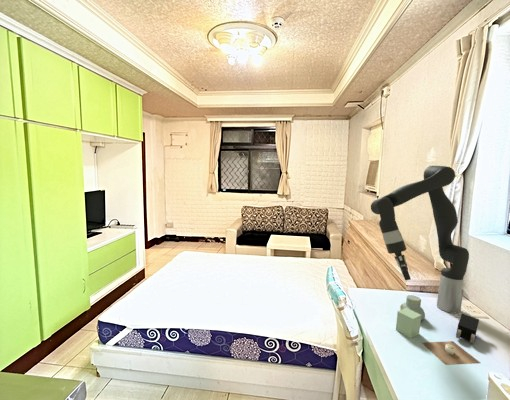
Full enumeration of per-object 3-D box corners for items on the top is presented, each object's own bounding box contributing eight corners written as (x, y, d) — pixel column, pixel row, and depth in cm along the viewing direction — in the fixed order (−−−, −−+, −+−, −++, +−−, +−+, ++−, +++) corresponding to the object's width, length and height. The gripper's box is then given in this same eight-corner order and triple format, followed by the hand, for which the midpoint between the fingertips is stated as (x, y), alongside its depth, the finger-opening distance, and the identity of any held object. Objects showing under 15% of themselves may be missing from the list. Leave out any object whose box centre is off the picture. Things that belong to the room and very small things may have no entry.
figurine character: (474, 353, 105) (477, 333, 116) (477, 336, 103) (480, 317, 114) (453, 345, 109) (458, 326, 120) (455, 329, 108) (460, 311, 119)
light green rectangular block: (403, 326, 118) (406, 307, 117) (418, 334, 112) (421, 314, 111) (395, 330, 115) (397, 311, 113) (410, 339, 109) (413, 318, 108)
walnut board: (452, 343, 108) (453, 341, 108) (480, 365, 96) (480, 362, 96) (420, 344, 107) (421, 342, 107) (445, 367, 95) (445, 364, 95)
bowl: (449, 349, 103) (450, 344, 103) (456, 354, 100) (457, 349, 100) (442, 349, 103) (443, 344, 102) (449, 355, 100) (449, 349, 100)
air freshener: (426, 325, 120) (428, 304, 119) (406, 322, 122) (408, 302, 121) (416, 312, 131) (418, 293, 130) (398, 310, 133) (400, 291, 131)
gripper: (404, 240, 110) (419, 279, 107) (401, 238, 123) (414, 273, 120) (385, 244, 113) (398, 283, 110) (384, 242, 126) (396, 276, 123)
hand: (406, 277), depth 115 cm, fingers open, 8 cm apart
